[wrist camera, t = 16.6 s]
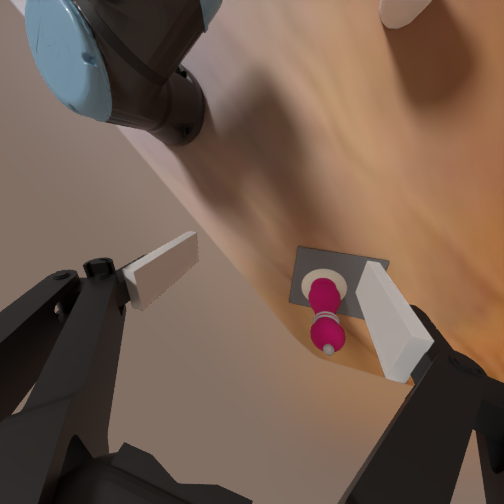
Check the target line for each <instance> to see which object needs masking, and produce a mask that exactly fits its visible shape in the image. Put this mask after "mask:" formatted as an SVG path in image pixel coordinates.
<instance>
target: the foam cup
mask: <svg viewBox="0 0 504 504" xmlns="http://www.w3.org/2000/svg"><path fill="white" fill-rule="evenodd" d="M431 1H432V0H381V1H380V8H379V14H380V18H381V22H382V23H383V24H384V25H385V26H386V27H387V28H392V29H399V28H401V27H403V26H406V25H408V24H409V23H411V22H412V21H413V20H414V19H415V18H416V17H417V16H418V15H419V14H420V13H421V12H422V11H423V10H424V9H425V8H426V7H427V6H428V4H429V3H430V2H431Z"/></svg>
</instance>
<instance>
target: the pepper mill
mask: <svg viewBox="0 0 504 504" xmlns="http://www.w3.org/2000/svg"><path fill="white" fill-rule="evenodd" d="M308 299H309V303H310V306H311V307H312V309H313V310H314V312H315V316H314V318H313V325H312V327H311V331H310V333H311V339H312V341H313V343H314V345H315V346H316V347H317V348H319V349H320V350H322V351H324V353H325V354H326V355H328V356H331V355H333V354H334V352H336V351H339V350H340V349H341V348H342V347H343V345H344V343H345V333H344V330H343V328H342V327H341V326H340V320H339V318H338V317H337V316H336V312H337V310H338V309H339V307H340V303H341V296H340V293H339V291H338V290H337V288H336V285H335V283H334V282H333V281H332V280H330V279H328V278H318V279H316V280H314V281H313V282H312V284H311V290H310V291H309V295H308Z"/></svg>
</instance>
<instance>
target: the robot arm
mask: <svg viewBox="0 0 504 504" xmlns="http://www.w3.org/2000/svg"><path fill="white" fill-rule="evenodd" d="M221 4H222V0H27V1H26V6H25V24H26V31H27V37H28V41H29V45H30V48H31V51H32V54H33V57H34V60H35V62H36V65H37V67H38V69H39V72H40V73H41V75H42V77H43V79H44V81H45V82H46V84H47V85H48V87H49V89H50V90H51V91H52V93H53V94H54V95H55V96H56V97H57V99H58V100H59V101H60V102H62V104H64V105H65V106H66V107H67V108H69V109H70V110H72V111H73V112H75V113H77V114H80V115H83V116H86V117H90V118H93V119H95V120H97V121H100V122H107V123H112V124H117V125H121V126H126V127H131V128H136V129H141V130H146V131H147V132H149V133H150V134H151V135H153V136H154V137H156V138H157V139H158V140H160V141H162V142H164V143H166V144H170V145H176V146H181V145H185V144H188V143H189V142H191V141H192V140H193V139H194V138H195V137H196V136H197V135H198V133H199V131H200V129H201V127H202V123H203V119H204V99H203V95H202V91H201V88H200V86H199V84H198V82H197V80H196V79H195V77H194V76H193V75H192V73H191V72H190V71H189V70H187V69H186V68H185V67H184V66H182V65H181V64H180V63H181V62H182V60H183V59H184V58H185V56H186V55H187V53H188V52H189V51H190V49H191V48H192V47H193V45H194V44H195V43H196V41H197V40H198V39H199V37H200V36H201V34H202V33H203V32H204V33H206V31H207V30H208V25H209V23H210V22H211V20H212V19H213V17H214V16H215V14H216V13H217V11H218V10H219V8H220V6H221ZM198 257H199V256H198V241H197V232H192V231H188V232H186V233H184V234H183V235H181V236H179V237H177V238H175V239H174V240H172V241H170V242H168V243H167V244H165V245H163V246H162V247H160V248H158V249H156V250H154V251H153V252H151V253H149V254H146V255H143V256H141V257H140V258H138V259H137V260H134V261H133V262H132V263H129V264H127V265H125V266H124V267H122V268H120V269H118V270H116V271H115V267H114V264H113V260H112V259H110V258H97V259H93V260H90V261H88V262H86V263H85V264H84V265H83V267H84V270H85V272H86V275H87V278H79V276H78V274H77V271H75V270H61V271H57V272H56V273H53V274H51V275H49V276H47V277H46V278H45V279H44V280H42V281H41V282H39V283H38V284H37V285H35V286H34V287H33V288H32V289H30V290H29V291H27V292H26V293H25V294H24V295H22V296H21V297H20V298H18V299H17V300H16V301H14V302H13V303H12V304H10V305H9V306H8V307H6V308H5V309H4V310H2V311H1V312H0V504H252V502H253V501H252V500H249V499H247V498H245V497H243V496H241V495H239V494H237V493H234V492H232V491H230V490H227V489H226V488H223V487H221V486H219V485H208V484H207V485H206V484H180V483H177V482H176V481H175V480H174V479H173V478H172V477H171V476H170V474H169V473H168V472H167V471H166V470H165V469H164V468H163V467H162V465H161V464H160V463H159V462H158V461H157V460H156V459H155V458H154V456H153V455H151V454H149V453H147V452H145V451H142V450H140V449H138V448H136V447H134V446H131V445H129V444H127V443H125V442H124V444H123V445H122V446H121V448H120V449H119V451H118V452H116V453H109V447H108V437H107V436H108V426H109V419H110V413H111V406H112V400H113V393H114V387H115V380H116V374H117V367H118V360H119V354H120V346H121V341H122V334H123V327H124V321H125V315H126V306H125V304H126V303H127V302H128V301H131V305H132V308H134V309H138V310H141V311H144V309H145V308H147V307H148V306H149V305H150V304H151V303H152V302H153V301H155V300H156V299H157V298H158V297H159V296H160V295H161V294H163V293H164V292H165V291H166V290H167V289H168V288H169V287H170V286H172V285H173V284H174V283H175V282H176V281H177V280H178V279H179V278H180V277H181V276H183V275H184V274H185V273H186V272H187V271H188V270H189V269H190V268H192V267H193V266H194V265H195V264H196V263H197V262H198V261H199V258H198ZM355 293H356V295H357V298H358V301H359V304H360V307H361V310H362V312H363V315H364V318H365V321H366V324H367V327H368V329H369V332H370V335H371V338H372V341H373V343H374V346H375V349H376V352H377V355H378V358H379V360H380V363H381V366H382V369H383V372H384V375H385V377H386V379H389V380H393V381H397V382H400V383H404V384H405V383H406V381H407V380H408V378H409V377H410V376H411V377H412V379H413V381H414V383H415V386H414V387H413V388H412V390H411V391H410V393H409V394H408V395H407V397H406V398H405V401H404V402H403V404H402V405H401V407H400V408H399V410H398V411H397V413H396V415H395V416H394V418H393V419H392V421H391V422H390V424H389V425H388V427H387V428H386V430H385V431H384V433H383V434H382V436H381V437H380V439H379V441H378V442H377V444H376V445H375V447H374V448H373V450H372V451H371V453H370V454H369V456H368V458H367V459H366V461H365V462H364V464H363V465H362V467H361V468H360V470H359V471H358V473H357V475H356V476H355V478H354V479H353V481H352V482H351V484H350V485H349V487H348V488H347V490H346V491H345V493H344V494H343V496H342V497H341V499H340V501H339V502H338V504H450V502H451V498H452V495H453V492H454V489H455V485H456V482H457V479H458V476H459V472H460V469H461V465H462V462H463V459H464V456H465V452H466V449H467V446H468V443H469V439H470V436H471V433H472V429H474V430H475V431H476V437H477V443H478V450H479V457H480V464H481V470H482V477H483V484H484V491H485V497H486V504H504V383H502V382H500V381H497V380H495V379H493V378H491V377H488V376H487V374H486V373H485V371H484V370H483V369H482V368H481V367H480V366H479V365H478V364H477V363H476V362H475V361H473V360H472V359H470V358H469V357H467V356H466V355H464V354H461V353H459V352H457V351H454V350H453V349H452V347H451V346H450V345H449V344H448V342H447V341H446V340H445V338H444V337H443V336H442V334H441V333H440V332H439V330H438V329H436V327H435V325H434V324H433V323H432V322H431V320H430V319H429V317H428V316H427V315H426V314H425V313H424V312H423V311H422V310H421V309H419V308H418V307H417V306H414V305H410V304H408V303H407V301H406V300H405V298H404V297H403V296H402V294H401V293H400V291H399V290H398V288H397V287H396V286H395V284H394V283H393V281H392V280H391V278H390V277H389V275H388V274H387V273H386V271H385V270H384V268H383V267H382V265H381V264H380V263H379V262H373V261H367V263H366V265H365V268H364V271H363V273H362V276H361V279H360V282H359V284H358V287H357V290H356V292H355ZM56 305H57V306H58V309H59V310H58V311H57V312H56V313H55V312H54V310H55V306H56ZM36 381H37V382H36ZM35 383H36V384H35ZM34 384H35V386H34V388H33V390H32V392H31V394H30V396H29V398H28V400H27V402H26V404H25V406H24V407H23V409H22V410H21V411H20V412H19V413H16V414H13V415H11V414H12V413H13V412H14V410H15V409H16V408H17V406H18V405H19V403H20V402H21V401H22V400H23V398H24V397H25V396H26V394H27V393H28V392H29V390H30V389H31V388H32V387H33V385H34Z"/></svg>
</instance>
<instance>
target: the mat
mask: <svg viewBox="0 0 504 504" xmlns="http://www.w3.org/2000/svg"><path fill="white" fill-rule="evenodd" d="M367 261H373V262H379V263H380V264H381V265H382V267H383V268H384V270H385V271H386V268H387V266H388V263H389V261H388V260H382V259H376V258H370V257H363V256H357V255H350V254H344V253H338V252H331V251H325V250H319V249H312V248H306V247H300V246H298V251H297V257H296V263H295V268H294V274H293V280H292V286H291V292H290V298H289V302H290V303H294V304H298V305H303V306H307V307H311V306H310V303H309V299H308V295H309V291H310V290H311V284H312V282H313V281H314V280H316V279H318V278H328V279H330V280H332V281H333V282H334V283H335V285H336V288H337V290H338V291H339V293H340V296H341V303H340V307H339V309H338V310H337V312H336V313H338V314H343V315H347V316H351V317H356V318H360V319H365V318H364V315H363V312H362V310H361V307H360V304H359V301H358V298H357V295H356V293H355V292H356V290H357V287H358V284H359V282H360V279H361V276H362V273H363V271H364V268H365V265H366V263H367Z"/></svg>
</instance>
